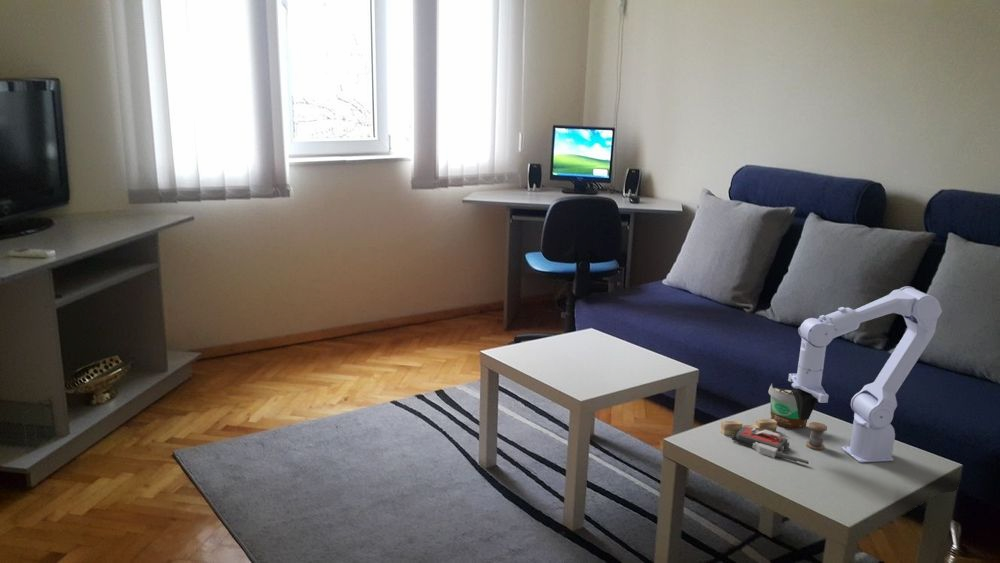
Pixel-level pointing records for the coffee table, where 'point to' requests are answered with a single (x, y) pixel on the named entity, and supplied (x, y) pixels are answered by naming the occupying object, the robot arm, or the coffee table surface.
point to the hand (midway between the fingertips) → (803, 418)
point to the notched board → (735, 426)
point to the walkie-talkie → (765, 443)
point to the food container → (785, 409)
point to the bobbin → (816, 436)
